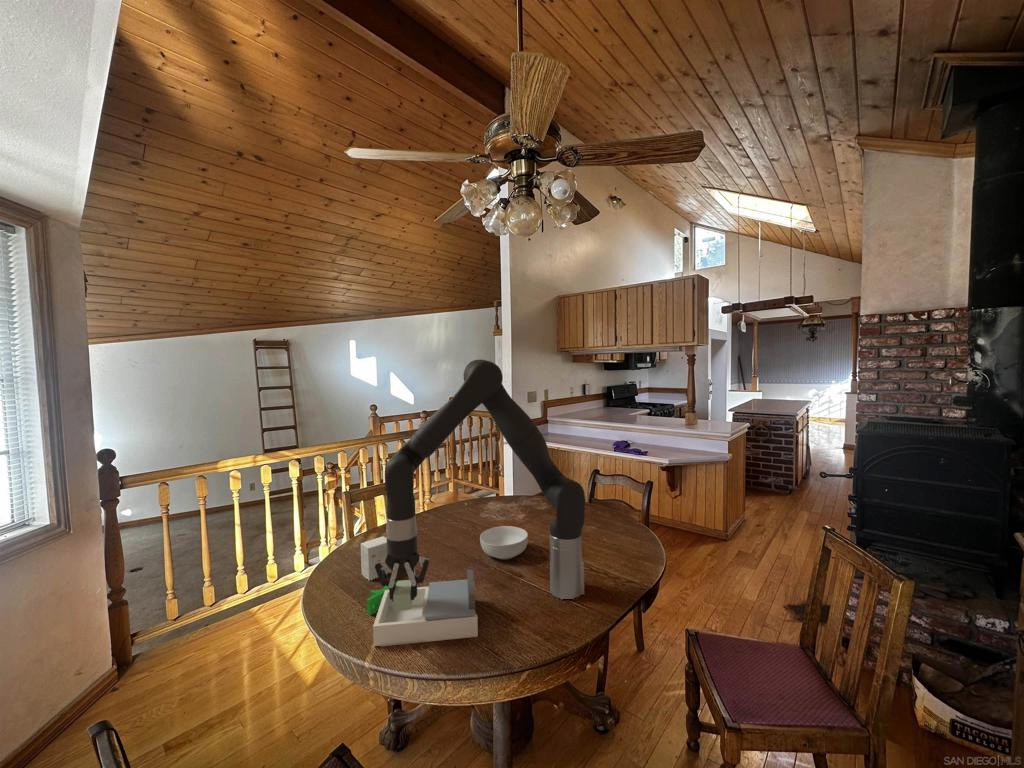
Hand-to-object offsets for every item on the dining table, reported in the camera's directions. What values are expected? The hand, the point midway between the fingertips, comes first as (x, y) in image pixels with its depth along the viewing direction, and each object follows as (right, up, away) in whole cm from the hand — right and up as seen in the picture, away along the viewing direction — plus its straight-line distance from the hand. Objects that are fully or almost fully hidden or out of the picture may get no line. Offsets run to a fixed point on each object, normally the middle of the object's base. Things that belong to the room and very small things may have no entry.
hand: (403, 598), depth 105 cm
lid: (+12, -1, +2) cm, 12 cm away
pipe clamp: (-8, -7, +9) cm, 14 cm away
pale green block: (0, -1, 0) cm, 1 cm away
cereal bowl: (+25, -5, +39) cm, 47 cm away
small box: (-16, -6, +26) cm, 31 cm away
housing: (+6, -6, +1) cm, 9 cm away
